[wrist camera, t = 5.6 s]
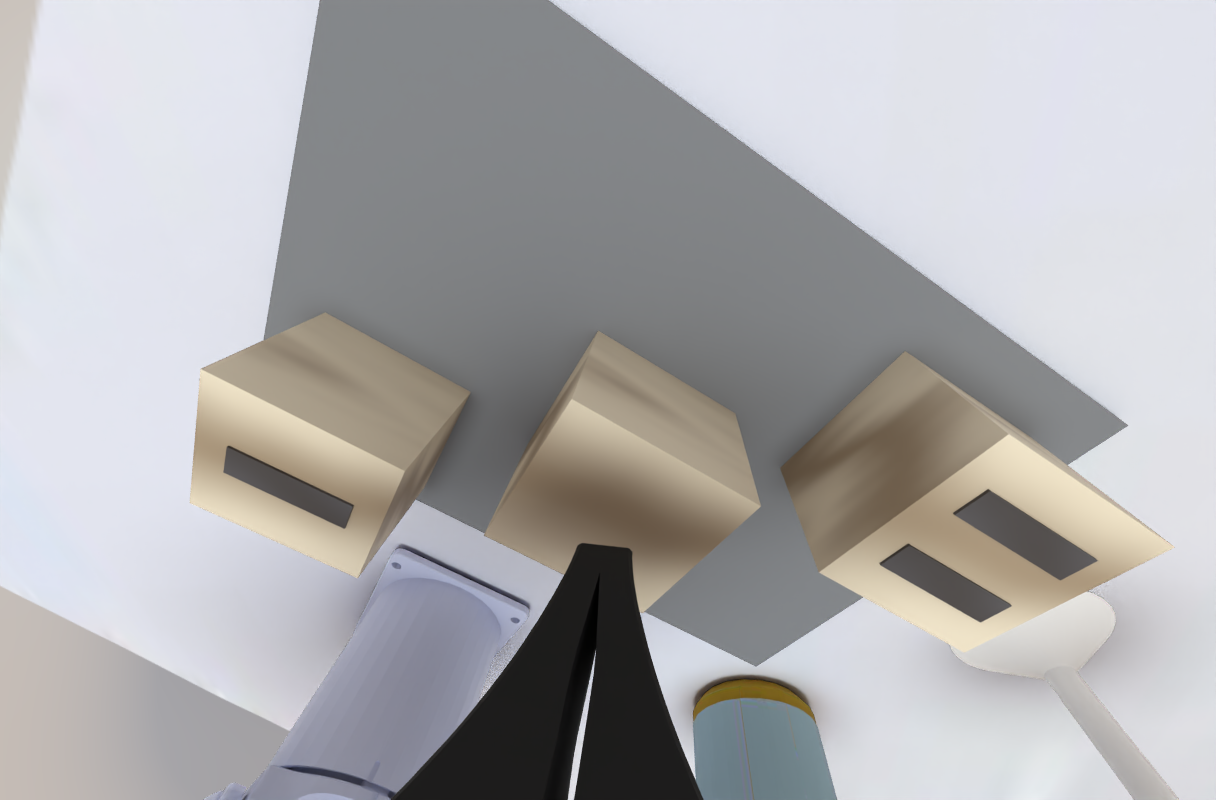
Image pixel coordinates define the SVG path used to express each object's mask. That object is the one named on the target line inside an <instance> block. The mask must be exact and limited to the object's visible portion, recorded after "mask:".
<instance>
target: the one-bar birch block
mask: <svg viewBox="0 0 1216 800" xmlns="http://www.w3.org/2000/svg"><path fill="white" fill-rule="evenodd" d="M470 393H471V392H470V391H468V390H466V389H464V388H462V387H461V386H459V385H457V384H455V383H453V382H452V381H450V380H448V379H446V378H444V377H442V376H441V375H439V374H437V373H435V372H433V371H431V370H430V369H428V368H426V367H424V366H422V365H420V364H419V363H417V362H415V361H413V360H411V359H409V358H408V357H406V356H404V355H402V354H400V353H399V352H397V351H395V350H393V349H391V348H389V347H388V346H386V345H384V344H382V343H380V342H378V341H377V340H375V339H373V338H371V337H369V336H367V335H366V334H364V333H362V332H360V331H358V330H356V329H355V328H353V327H351V326H349V325H347V324H345V323H344V322H342V321H340V320H338V319H336V318H335V317H333V316H331V315H329V314H327V313H323V314H321V315H319V316H317V317H314V318H312V319H310V320H308V321H306V322H303V323H301V324H299V325H297V326H294V327H292V328H290V329H288V330H286V331H283V332H281V333H279V334H277V335H275V336H272V337H270V338H268V339H266V340H264V341H261V342H259V343H257V344H255V345H252V346H250V347H248V348H246V349H244V350H241V351H239V352H237V353H235V354H233V355H230V356H228V357H226V358H224V359H222V360H219V361H217V362H215V363H213V364H210V365H208V366H206V367H204V368H202V369H201V371H200V383H199V395H198V408H197V420H196V432H195V444H194V456H193V469H192V481H191V493H190V503H191V504H193V505H195V506H198V507H200V508H202V509H204V510H207V511H209V512H211V513H213V514H216V515H218V516H220V517H222V518H224V519H227V520H229V521H231V522H233V523H236V524H238V525H240V526H242V527H245V528H247V529H249V530H251V531H253V532H256V533H258V534H260V535H262V536H265V537H267V538H269V539H271V540H273V541H276V542H278V543H280V544H282V545H285V546H287V547H289V548H291V549H294V550H296V551H298V552H300V553H302V554H305V555H307V556H309V557H311V558H314V559H316V560H318V561H320V562H322V563H325V564H327V565H329V566H331V567H334V568H336V569H338V570H340V571H343V572H345V573H347V574H349V575H351V576H354V577H356V578H358V577H359V576H360V574H361V573H362V572H363V570H364V569H365V568H366V566H367V565H368V564H369V562H370V561H371V559H372V558H373V557H374V555H375V554H376V553H377V551H378V550H379V549H380V547H381V546H382V544H383V543H384V542H385V540H386V539H387V538H388V536H389V535H390V534H391V532H392V531H393V529H394V528H395V527H396V525H397V524H398V523H399V521H400V520H401V519H402V517H403V516H404V514H405V513H406V512H407V510H408V509H409V508H410V506H411V505H412V503H413V502H414V501H415V499H416V498H417V497H418V495H419V494H420V493H421V491H422V490H423V488H424V487H425V485H426V483H427V481H428V479H429V477H430V475H431V473H432V471H433V469H434V467H435V465H436V463H437V460H438V458H439V456H440V454H441V452H442V450H443V448H444V446H445V444H446V442H447V440H448V438H449V436H450V434H451V432H452V430H453V428H454V426H455V424H456V421H457V419H458V417H459V415H460V413H461V411H462V409H463V407H464V405H465V403H466V401H467V399H468V397H469V395H470Z"/></svg>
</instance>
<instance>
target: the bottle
mask: <svg viewBox="0 0 1216 800" xmlns="http://www.w3.org/2000/svg"><path fill="white" fill-rule="evenodd" d="M693 721H694V722H693V733H694V753H695V773H696V783H697V785H698V787H699V790H700V792H701V795H702V797H703V799H704V800H837V797H836V794H835V790H834V786H833V782H832V779H831V775H830V771H829V767H828V764H827V760H826V756H825V753H824V749H823V745H822V741H821V738H820V734H819V730H818V727H817V725H816V721H815V718H814V714H813V713H812V711H811V709H810V707H809V706H808V705H807V704H806V703H805V702H804V701H802V700H801V699H800V698H799V697H798V696H797V695H795V694H794V693H793V692H792V691H790V690H789V689H788V688H785V687H783V686H780V685H778V684H776V683H772V682H767V681H762V680H747V679H740V680H734V681H727V682H724V683H721V684H719V685H716V686H713V687H712V688H711V689H709V690H708V691H707V692H706V693H705V694H704V695H703V696H702V697H701V699H700V700H699V701H698V703H697V704H696V706H695V708H694V711H693Z"/></svg>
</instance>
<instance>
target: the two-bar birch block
mask: <svg viewBox="0 0 1216 800" xmlns="http://www.w3.org/2000/svg"><path fill="white" fill-rule="evenodd" d="M780 469H781V472H782V475H783V477H784V480H785V483H786V485H787V488H788V491H789V494H790V496H791V499H792V502H793V504H794V507H795V510H796V512H797V515H798V518H799V520H800V523H801V526H802V529H803V531H804V534H805V537H806V539H807V542H808V545H809V547H810V550H811V553H812V556H813V558H814V561H815V564H816V566H817V569H818V572H819V573H821V574H823V575H824V576H826V577H828V578H830V579H832V580H833V581H835V582H837V583H839V584H841V585H842V586H844V587H846V588H848V589H850V590H852V591H853V592H855V593H857V594H859V595H861V596H862V597H864V598H866V599H868V600H870V601H871V602H873V603H875V604H877V605H879V606H881V607H882V608H884V609H886V610H888V611H890V612H891V613H893V614H895V615H897V616H899V617H900V618H902V619H904V620H906V621H908V622H910V623H911V624H913V625H915V626H917V627H919V628H920V629H922V630H924V631H926V632H928V633H929V634H931V635H933V636H935V637H937V638H939V639H940V640H942V641H944V642H946V643H948V644H949V645H951V646H953V647H955V648H957V649H958V650H960V651H962V652H964V653H965V652H967V651H969V650H971V649H973V648H975V647H977V646H979V645H981V644H983V643H985V642H987V641H989V640H991V639H993V638H995V637H997V636H999V635H1001V634H1003V633H1005V632H1007V631H1009V630H1011V629H1013V628H1015V627H1017V626H1019V625H1021V624H1023V623H1025V622H1027V621H1029V620H1031V619H1033V618H1035V617H1037V616H1039V615H1041V614H1043V613H1045V612H1047V611H1049V610H1051V609H1053V608H1055V607H1057V606H1059V605H1061V604H1063V603H1065V602H1067V601H1069V600H1071V599H1073V598H1075V597H1077V596H1079V595H1081V594H1083V593H1085V592H1087V591H1089V590H1091V589H1093V588H1095V587H1097V586H1099V585H1101V584H1103V583H1105V582H1107V581H1109V580H1111V579H1113V578H1115V577H1117V576H1119V575H1121V574H1123V573H1125V572H1127V571H1129V570H1131V569H1133V568H1135V567H1137V566H1139V565H1141V564H1143V563H1145V562H1147V561H1148V560H1150V559H1152V558H1154V557H1156V556H1158V555H1160V554H1162V553H1164V552H1166V551H1168V550H1170V549H1172V548H1174V546H1173V545H1171V544H1170V543H1169V542H1167V541H1166V540H1165V539H1163V538H1162V537H1161V536H1160V535H1158V534H1157V533H1156V532H1154V531H1153V530H1152V529H1150V528H1149V527H1148V526H1146V525H1145V524H1144V523H1142V522H1141V521H1140V520H1139V519H1137V518H1136V517H1135V516H1133V515H1132V514H1131V513H1129V512H1128V511H1127V510H1125V509H1124V508H1123V507H1121V506H1120V505H1119V504H1118V503H1116V502H1115V501H1114V500H1112V499H1111V498H1110V497H1108V496H1107V495H1106V494H1104V493H1103V492H1102V491H1100V490H1099V489H1098V488H1097V487H1095V486H1094V485H1093V484H1091V483H1090V482H1089V481H1087V480H1086V479H1085V478H1083V477H1082V476H1081V475H1079V474H1078V473H1077V472H1076V471H1074V470H1073V469H1072V468H1070V467H1069V466H1068V465H1066V464H1065V463H1064V462H1062V461H1061V460H1060V459H1058V458H1057V457H1056V456H1055V455H1053V454H1052V453H1051V452H1049V451H1048V450H1047V449H1045V448H1044V447H1043V446H1041V445H1040V444H1039V443H1037V442H1036V441H1035V440H1034V439H1032V438H1031V437H1029V436H1028V435H1027V434H1025V433H1024V432H1022V431H1021V430H1019V429H1018V428H1016V427H1015V426H1014V425H1012V424H1011V423H1009V422H1008V421H1006V420H1005V419H1003V418H1002V417H1000V416H999V415H998V414H996V413H995V412H993V411H992V410H990V409H989V408H987V407H986V406H984V405H983V404H982V403H980V402H979V401H977V400H976V399H974V398H973V397H971V396H970V395H968V394H967V393H966V392H964V391H963V390H961V389H960V388H958V387H957V386H955V385H954V384H952V383H951V382H950V381H948V380H947V379H945V378H944V377H942V376H941V375H939V374H938V373H936V372H935V371H934V370H932V369H931V368H929V367H928V366H926V365H925V364H923V363H922V362H920V361H919V360H918V359H916V358H915V357H913V356H912V355H910V354H909V353H907V352H906V351H905V352H904V353H902V354H901V355H900V356H899V357H898V358H897V359H896V360H895V361H894V362H893V363H892V364H891V365H890V366H889V367H888V368H886V369H885V370H884V371H883V372H882V373H881V374H880V375H879V376H878V377H877V378H876V379H875V380H874V381H873V382H871V383H870V384H869V385H868V386H867V387H866V388H865V389H864V390H863V391H862V392H861V393H860V394H859V395H858V396H857V397H855V398H854V399H853V400H852V401H851V402H850V403H849V404H848V405H847V406H846V407H845V408H844V409H843V410H842V411H840V412H839V413H838V414H837V415H836V416H835V417H834V418H833V419H832V420H831V421H830V422H829V423H828V424H827V425H826V426H824V427H823V428H822V429H821V430H820V431H819V432H818V433H817V434H816V435H815V436H814V437H813V438H812V439H811V440H809V441H808V442H807V443H806V444H805V445H804V446H803V447H802V448H801V449H800V450H799V451H798V452H797V453H796V454H795V455H793V456H792V457H791V458H790V459H789V460H788V461H787V462H786V463H785V464H784V465H783V466H782V467H781V468H780Z"/></svg>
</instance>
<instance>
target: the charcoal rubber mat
mask: <svg viewBox="0 0 1216 800" xmlns="http://www.w3.org/2000/svg"><path fill="white" fill-rule="evenodd" d="M323 313H327V314H329V315H331V316H333V317H335V318H336V319H338V320H340V321H342V322H344V323H345V324H347V325H349V326H351V327H353V328H355V329H356V330H358V331H360V332H362V333H364V334H366V335H367V336H369V337H371V338H373V339H375V340H377V341H378V342H380V343H382V344H384V345H386V346H388V347H389V348H391V349H393V350H395V351H397V352H399V353H400V354H402V355H404V356H406V357H408V358H409V359H411V360H413V361H415V362H417V363H419V364H420V365H422V366H424V367H426V368H428V369H430V370H431V371H433V372H435V373H437V374H439V375H441V376H442V377H444V378H446V379H448V380H450V381H452V382H453V383H455V384H457V385H459V386H461V387H462V388H464V389H466V390H468V391H470V392H471V393H470V395H469V397H468V399H467V401H466V403H465V405H464V407H463V409H462V411H461V413H460V415H459V417H458V419H457V421H456V424H455V426H454V428H453V430H452V432H451V434H450V436H449V438H448V440H447V442H446V444H445V446H444V448H443V450H442V452H441V454H440V456H439V458H438V460H437V463H436V465H435V467H434V469H433V471H432V473H431V475H430V477H429V479H428V481H427V483H426V485H425V487H424V488H423V490H422V491H421V493H420V494H419V495H418V497H417V498H416V500H418V501H420V502H422V503H424V504H426V505H428V506H431V507H433V508H435V509H437V510H439V511H441V512H443V513H445V514H447V515H449V516H451V517H453V518H455V519H457V520H459V521H461V522H463V523H465V524H467V525H469V526H471V527H473V528H475V529H477V530H479V531H481V532H483V533H485V532H486V530H487V528H488V526H489V523H490V521H491V519H492V517H493V515H494V513H495V511H496V509H497V507H498V505H499V503H500V501H501V499H502V497H503V494H504V492H505V490H506V488H507V486H508V484H509V482H510V480H511V478H512V476H513V474H514V472H515V470H516V467H517V465H518V463H519V461H520V459H521V457H522V455H523V453H524V451H525V449H526V447H527V445H528V443H529V441H530V440H531V438H532V437H533V435H534V433H535V432H536V430H537V429H538V427H539V425H540V424H541V422H542V421H543V419H544V417H545V416H546V414H547V412H548V411H549V409H550V408H551V406H552V404H553V403H554V401H555V400H556V398H557V396H558V395H559V393H560V392H561V390H562V388H563V387H564V385H565V383H566V382H567V380H568V379H569V377H570V375H571V374H572V372H573V371H574V369H575V367H576V366H577V364H578V362H579V361H580V359H581V358H582V356H583V354H584V353H585V351H586V350H587V348H588V346H589V345H590V343H591V342H592V340H593V338H594V337H595V335H596V333H597V332H598V331H600V332H601V333H603V334H605V335H606V336H608V337H610V338H611V339H613V340H615V341H616V342H618V343H620V344H621V345H623V346H625V347H626V348H628V349H630V350H631V351H633V352H634V353H636V354H638V355H639V356H641V357H643V358H644V359H646V360H648V361H649V362H651V363H653V364H654V365H656V366H658V367H659V368H661V369H663V370H664V371H666V372H668V373H669V374H671V375H673V376H674V377H676V378H677V379H679V380H681V381H682V382H684V383H686V384H687V385H689V386H691V387H692V388H694V389H696V390H697V391H699V392H701V393H702V394H704V395H706V396H707V397H709V398H711V399H712V400H714V401H716V402H717V403H719V404H721V405H722V406H724V407H725V408H727V409H729V410H730V411H732V412H734V413H735V414H736V418H737V421H738V425H739V428H740V432H741V436H742V439H743V443H744V447H745V450H746V454H747V457H748V461H749V465H750V468H751V472H752V476H753V479H754V483H755V487H756V490H757V494H758V497H759V501H760V505H761V507H760V508H759V509H757V510H756V511H755V512H754V513H753V514H752V515H751V516H750V517H749V518H748V519H746V520H745V521H744V522H743V523H742V524H741V525H740V526H739V527H738V528H736V529H735V530H734V531H733V532H732V533H731V534H730V535H729V536H728V537H726V538H725V539H724V540H723V541H722V542H721V543H720V544H719V545H718V546H716V547H715V548H714V549H713V550H712V551H711V552H710V553H709V554H708V555H707V556H705V557H704V558H703V559H702V560H701V561H700V562H699V563H698V564H697V565H695V566H694V567H693V568H692V569H691V570H690V571H689V572H688V573H687V574H685V575H684V576H683V577H682V578H681V579H680V580H679V581H678V582H677V583H675V584H674V585H673V586H672V587H671V588H670V589H669V590H668V591H667V592H666V593H664V594H663V595H662V596H661V597H660V598H659V599H658V600H657V601H656V602H654V603H653V604H652V605H651V606H650V607H649V608H648V609H647V610H646V611H644V612H646V613H648V614H650V615H652V616H654V617H656V618H658V619H660V620H663V621H665V622H667V623H669V624H671V625H673V626H675V627H677V628H679V629H681V630H683V631H685V632H687V633H689V634H691V635H693V636H695V637H697V638H699V639H701V640H703V641H705V642H707V643H709V644H711V645H713V646H715V647H717V648H719V649H722V650H724V651H726V652H728V653H730V654H732V655H734V656H736V657H738V658H740V659H742V660H744V661H746V662H748V663H750V664H752V665H754V666H758V665H759V664H761V663H762V662H764V661H766V660H767V659H769V658H770V657H772V656H773V655H775V654H776V653H778V652H779V651H781V650H783V649H784V648H786V647H787V646H789V645H790V644H792V643H793V642H795V641H796V640H798V639H800V638H801V637H803V636H804V635H806V634H807V633H809V632H810V631H812V630H813V629H815V628H816V627H818V626H820V625H821V624H823V623H824V622H826V621H827V620H829V619H830V618H832V617H833V616H835V615H837V614H838V613H840V612H841V611H843V610H844V609H846V608H847V607H849V606H850V605H852V604H854V603H855V602H857V601H858V600H860V599H861V598H863V597H862V596H861V595H859V594H857V593H855V592H853V591H852V590H850V589H848V588H846V587H844V586H842V585H841V584H839V583H837V582H835V581H833V580H832V579H830V578H828V577H826V576H824V575H823V574H821V573H819V572H818V569H817V566H816V564H815V561H814V558H813V556H812V553H811V550H810V547H809V545H808V542H807V539H806V537H805V534H804V531H803V529H802V526H801V523H800V520H799V518H798V515H797V512H796V510H795V507H794V504H793V502H792V499H791V496H790V494H789V491H788V488H787V485H786V483H785V480H784V477H783V475H782V472H781V469H780V468H781V467H782V466H783V465H784V464H785V463H786V462H787V461H788V460H789V459H790V458H791V457H792V456H793V455H795V454H796V453H797V452H798V451H799V450H800V449H801V448H802V447H803V446H804V445H805V444H806V443H807V442H808V441H809V440H811V439H812V438H813V437H814V436H815V435H816V434H817V433H818V432H819V431H820V430H821V429H822V428H823V427H824V426H826V425H827V424H828V423H829V422H830V421H831V420H832V419H833V418H834V417H835V416H836V415H837V414H838V413H839V412H840V411H842V410H843V409H844V408H845V407H846V406H847V405H848V404H849V403H850V402H851V401H852V400H853V399H854V398H855V397H857V396H858V395H859V394H860V393H861V392H862V391H863V390H864V389H865V388H866V387H867V386H868V385H869V384H870V383H871V382H873V381H874V380H875V379H876V378H877V377H878V376H879V375H880V374H881V373H882V372H883V371H884V370H885V369H886V368H888V367H889V366H890V365H891V364H892V363H893V362H894V361H895V360H896V359H897V358H898V357H899V356H900V355H901V354H902V353H904V352H905V351H906V352H907V353H909V354H910V355H912V356H913V357H915V358H916V359H918V360H919V361H920V362H922V363H923V364H925V365H926V366H928V367H929V368H931V369H932V370H934V371H935V372H936V373H938V374H939V375H941V376H942V377H944V378H945V379H947V380H948V381H950V382H951V383H952V384H954V385H955V386H957V387H958V388H960V389H961V390H963V391H964V392H966V393H967V394H968V395H970V396H971V397H973V398H974V399H976V400H977V401H979V402H980V403H982V404H983V405H984V406H986V407H987V408H989V409H990V410H992V411H993V412H995V413H996V414H998V415H999V416H1000V417H1002V418H1003V419H1005V420H1006V421H1008V422H1009V423H1011V424H1012V425H1014V426H1015V427H1016V428H1018V429H1019V430H1021V431H1022V432H1024V433H1025V434H1027V435H1028V436H1029V437H1031V438H1032V439H1034V440H1035V441H1036V442H1037V443H1039V444H1040V445H1041V446H1043V447H1044V448H1045V449H1047V450H1048V451H1049V452H1051V453H1052V454H1053V455H1055V456H1056V457H1057V458H1058V459H1060V460H1061V461H1062V462H1064V463H1065V464H1066V465H1068V464H1070V463H1071V462H1073V461H1074V460H1076V459H1077V458H1079V457H1080V456H1082V455H1084V454H1085V453H1087V452H1088V451H1090V450H1091V449H1093V448H1094V447H1096V446H1097V445H1099V444H1101V443H1102V442H1104V441H1105V440H1107V439H1108V438H1110V437H1111V436H1113V435H1114V434H1116V433H1118V432H1119V431H1121V430H1122V429H1124V428H1125V427H1127V426H1128V425H1127V424H1126V423H1124V422H1123V421H1122V420H1120V419H1119V418H1118V417H1116V416H1115V415H1113V414H1112V413H1111V412H1109V411H1108V410H1107V409H1105V408H1104V407H1103V406H1101V405H1100V404H1098V403H1097V402H1096V401H1094V400H1093V399H1092V398H1090V397H1089V396H1088V395H1086V394H1085V393H1083V392H1082V391H1081V390H1079V389H1078V388H1077V387H1075V386H1074V385H1073V384H1071V383H1070V382H1068V381H1067V380H1066V379H1064V378H1063V377H1062V376H1060V375H1059V374H1057V373H1056V372H1055V371H1053V370H1052V369H1051V368H1049V367H1048V366H1047V365H1045V364H1044V363H1042V362H1041V361H1040V360H1038V359H1037V358H1036V357H1034V356H1033V355H1032V354H1030V353H1029V352H1027V351H1026V350H1025V349H1023V348H1022V347H1021V346H1019V345H1018V344H1017V343H1015V342H1014V341H1012V340H1011V339H1010V338H1008V337H1007V336H1006V335H1004V334H1003V333H1002V332H1000V331H999V330H997V329H996V328H995V327H993V326H992V325H991V324H989V323H988V322H987V321H985V320H984V319H982V318H981V317H980V316H978V315H977V314H976V313H974V312H973V311H971V310H970V309H969V308H967V307H966V306H965V305H963V304H962V303H961V302H959V301H958V300H956V299H955V298H954V297H952V296H951V295H950V294H948V293H947V292H946V291H944V290H943V289H941V288H940V287H939V286H937V285H936V284H935V283H933V282H932V281H931V280H929V279H928V278H926V277H925V276H924V275H922V274H921V273H920V272H918V271H917V270H916V269H914V268H913V267H911V266H910V265H909V264H907V263H906V262H905V261H903V260H902V259H901V258H899V257H898V256H896V255H895V254H894V253H892V252H891V251H890V250H888V249H887V248H886V247H884V246H883V245H881V244H880V243H879V242H877V241H876V240H875V239H873V238H872V237H870V236H869V235H868V234H866V233H865V232H864V231H862V230H861V229H860V228H858V227H857V226H855V225H854V224H853V223H851V222H850V221H849V220H847V219H846V218H845V217H843V216H842V215H840V214H839V213H838V212H836V211H835V210H834V209H832V208H831V207H830V206H828V205H827V204H825V203H824V202H823V201H821V200H820V199H819V198H817V197H816V196H815V195H813V194H812V193H810V192H809V191H808V190H806V189H805V188H804V187H802V186H801V185H800V184H798V183H797V182H795V181H794V180H793V179H791V178H790V177H789V176H787V175H786V174H785V173H783V172H782V171H780V170H779V169H778V168H776V167H775V166H774V165H772V164H771V163H769V162H768V161H767V160H765V159H764V158H763V157H761V156H760V155H759V154H757V153H756V152H754V151H753V150H752V149H750V148H749V147H748V146H746V145H745V144H744V143H742V142H741V141H739V140H738V139H737V138H735V137H734V136H733V135H731V134H730V133H729V132H727V131H726V130H724V129H723V128H722V127H720V126H719V125H718V124H716V123H715V122H714V121H712V120H711V119H709V118H708V117H707V116H705V115H704V114H703V113H701V112H700V111H699V110H697V109H696V108H694V107H693V106H692V105H690V104H689V103H688V102H686V101H685V100H683V99H682V98H681V97H679V96H678V95H677V94H675V93H674V92H673V91H671V90H670V89H668V88H667V87H666V86H664V85H663V84H662V83H660V82H659V81H658V80H656V79H655V78H653V77H652V76H651V75H649V74H648V73H647V72H645V71H644V70H643V69H641V68H640V67H638V66H637V65H636V64H634V63H633V62H632V61H630V60H629V59H628V58H626V57H625V56H623V55H622V54H621V53H619V52H618V51H617V50H615V49H614V48H613V47H611V46H610V45H608V44H607V43H606V42H604V41H603V40H602V39H600V38H599V37H598V36H596V35H595V34H593V33H592V32H591V31H589V30H588V29H587V28H585V27H584V26H582V25H581V24H580V23H578V22H577V21H576V20H574V19H573V18H572V17H570V16H569V15H567V14H566V13H565V12H563V11H562V10H561V9H559V8H558V7H557V6H555V5H554V4H552V3H551V2H550V1H548V0H320V3H319V9H318V15H317V21H316V27H315V33H314V39H313V45H312V51H311V57H310V63H309V69H308V75H307V81H306V87H305V93H304V99H303V105H302V111H301V117H300V123H299V129H298V136H297V142H296V148H295V154H294V160H293V166H292V172H291V178H290V184H289V190H288V196H287V202H286V208H285V214H284V220H283V226H282V232H281V238H280V244H279V250H278V256H277V262H276V268H275V274H274V280H273V286H272V292H271V298H270V305H269V311H268V317H267V323H266V329H265V335H264V340H266V339H268V338H270V337H272V336H275V335H277V334H279V333H281V332H283V331H286V330H288V329H290V328H292V327H294V326H297V325H299V324H301V323H303V322H306V321H308V320H310V319H312V318H314V317H317V316H319V315H321V314H323Z"/></svg>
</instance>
